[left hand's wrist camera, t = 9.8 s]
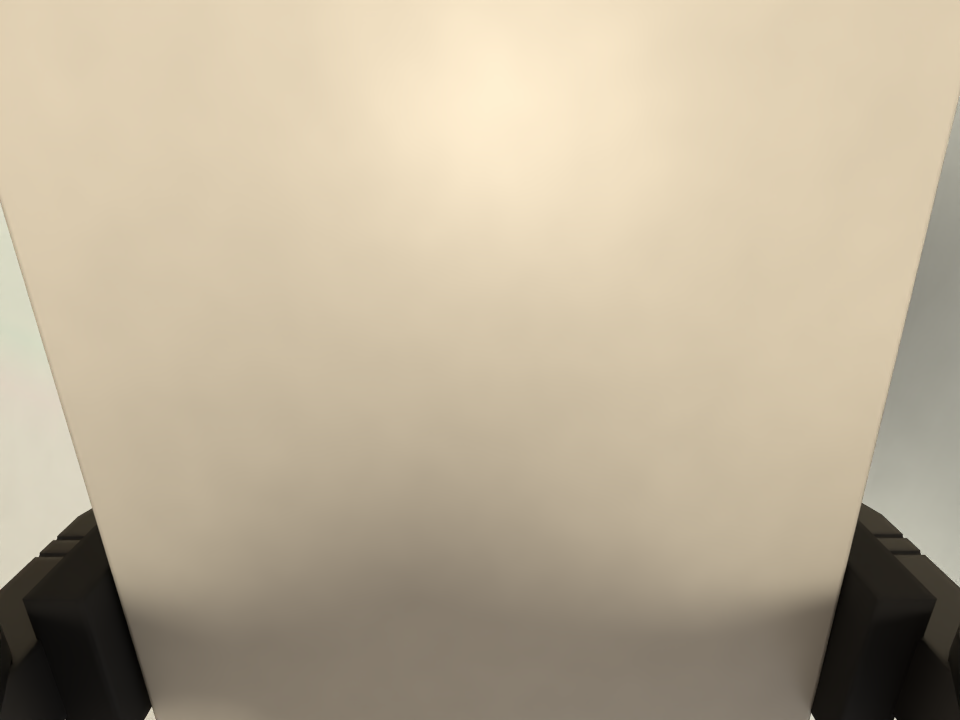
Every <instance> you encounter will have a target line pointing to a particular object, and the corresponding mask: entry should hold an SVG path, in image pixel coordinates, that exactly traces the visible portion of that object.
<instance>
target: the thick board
mask: <svg viewBox="0 0 960 720" xmlns="http://www.w3.org/2000/svg"><path fill="white" fill-rule="evenodd" d="M959 95H960V0H0V202H1V206H2V209H3V212H4V216H5V219H6V222H7V226H8V229H9V232H10V236H11V239H12V242H13V246H14V249H15V252H16V256H17V259H18V262H19V266H20V269H21V272H22V276H23V279H24V282H25V286H26V289H27V292H28V296H29V299H30V302H31V306H32V309H33V312H34V316H35V319H36V322H37V326H38V329H39V332H40V336H41V339H42V342H43V345H44V349H45V352H46V355H47V359H48V362H49V365H50V369H51V372H52V375H53V379H54V382H55V385H56V389H57V392H58V395H59V399H60V402H61V405H62V409H63V412H64V415H65V419H66V422H67V425H68V429H69V432H70V435H71V439H72V442H73V445H74V449H75V452H76V455H77V459H78V462H79V465H80V469H81V472H82V475H83V479H84V482H85V485H86V489H87V492H88V495H89V498H90V502H91V505H92V508H93V512H94V515H95V518H96V522H97V525H98V528H99V532H100V535H101V538H102V542H103V545H104V548H105V552H106V555H107V558H108V562H109V565H110V568H111V572H112V575H113V578H114V582H115V585H116V588H117V592H118V595H119V598H120V602H121V605H122V608H123V612H124V615H125V618H126V622H127V625H128V628H129V632H130V635H131V638H132V642H133V645H134V648H135V652H136V655H137V658H138V661H139V665H140V668H141V671H142V675H143V678H144V681H145V685H146V688H147V691H148V695H149V698H150V701H151V705H152V708H153V711H154V715H155V718H156V720H809V719H810V715H811V709H812V705H813V701H814V697H815V693H816V689H817V686H818V682H819V678H820V674H821V669H822V665H823V661H824V657H825V653H826V649H827V644H828V640H829V636H830V632H831V628H832V624H833V619H834V615H835V611H836V607H837V603H838V599H839V595H840V590H841V586H842V582H843V578H844V574H845V570H846V565H847V561H848V557H849V553H850V549H851V545H852V540H853V536H854V532H855V528H856V524H857V520H858V515H859V511H860V507H861V503H862V499H863V495H864V490H865V486H866V482H867V478H868V474H869V470H870V466H871V461H872V457H873V453H874V449H875V445H876V441H877V436H878V432H879V428H880V424H881V420H882V416H883V411H884V407H885V403H886V399H887V395H888V391H889V386H890V382H891V378H892V374H893V370H894V366H895V361H896V357H897V353H898V349H899V345H900V341H901V337H902V332H903V328H904V324H905V320H906V316H907V312H908V307H909V303H910V299H911V295H912V291H913V287H914V282H915V278H916V274H917V270H918V266H919V262H920V257H921V253H922V249H923V245H924V241H925V237H926V232H927V228H928V224H929V220H930V216H931V212H932V208H933V203H934V199H935V195H936V191H937V187H938V183H939V178H940V174H941V170H942V166H943V162H944V158H945V153H946V149H947V145H948V141H949V137H950V133H951V128H952V124H953V120H954V116H955V112H956V108H957V103H958V99H959Z"/></svg>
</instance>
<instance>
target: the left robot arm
mask: <svg viewBox="0 0 960 720" xmlns="http://www.w3.org/2000/svg"><path fill="white" fill-rule="evenodd" d="M151 707H152V705H151V701H150V698H149V695H148V691H147V688H146V685H145V681H144V678H143V675H142V671H141V668H140V665H139V661H138V658H137V655H136V652H135V648H134V645H133V642H132V638H131V635H130V632H129V628H128V625H127V622H126V618H125V615H124V612H123V608H122V605H121V602H120V598H119V595H118V592H117V588H116V585H115V582H114V578H113V575H112V572H111V568H110V565H109V562H108V558H107V555H106V552H105V548H104V545H103V542H102V538H101V535H100V532H99V528H98V525H97V522H96V518H95V515H94V512H93V508H92V509H90V510H89V511H87V512H85V513H83V514H82V515H80V516H78V517H77V518H76V519H75V520H74V521H73V522H72V523H71V524H70V525H69V526H68V527H67V528H66V529H64V530H63V531H62V532H61V533H60V534H59V535H58V536H57V540H53V541H52V542H51V543H50V544H49V545H48V546H46V547H45V548H44V549H43V550H42V551H41V552H40V555H39V557H35V558H34V559H33V560H32V561H31V562H29V563H28V564H27V565H26V566H25V567H24V568H23V569H22V570H21V571H20V572H19V573H18V574H17V575H16V576H15V577H14V578H13V579H11V580H10V581H9V582H8V583H7V584H6V585H5V586H4V587H3V588H2V589H1V590H0V720H65V719H66V720H144V719H145V717H146V716H147V714H148V712H149V710H150V709H151ZM811 713H812V715H813V717H814V718H815V720H894V717H895V718H896V719H897V720H960V587H958V586H957V585H956V584H955V583H954V582H953V581H952V580H951V579H950V578H949V577H948V576H947V575H946V574H945V573H944V572H942V571H941V570H940V569H939V568H938V567H937V566H936V565H935V564H934V563H933V562H932V561H931V560H930V559H929V558H928V557H926V556H925V555H921V553H920V550H919V549H918V548H917V547H916V546H915V545H914V544H913V543H912V542H910V541H909V540H908V539H907V538H903V534H902V533H901V532H900V531H899V530H898V529H897V528H896V527H894V526H893V525H892V524H891V523H890V522H889V521H888V520H887V519H886V518H885V517H884V516H883V515H882V514H880V513H878V512H876V511H875V510H873V509H871V508H870V507H868V506H866V505H864V504H863V503H861V507H860V511H859V515H858V520H857V524H856V528H855V532H854V536H853V540H852V545H851V549H850V553H849V557H848V561H847V565H846V570H845V574H844V578H843V582H842V586H841V590H840V595H839V599H838V603H837V607H836V611H835V615H834V619H833V624H832V628H831V632H830V636H829V640H828V644H827V649H826V653H825V657H824V661H823V665H822V669H821V674H820V678H819V682H818V686H817V689H816V693H815V697H814V701H813V705H812V709H811Z"/></svg>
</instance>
